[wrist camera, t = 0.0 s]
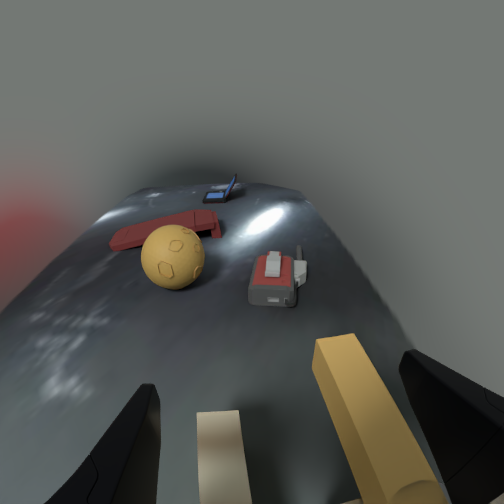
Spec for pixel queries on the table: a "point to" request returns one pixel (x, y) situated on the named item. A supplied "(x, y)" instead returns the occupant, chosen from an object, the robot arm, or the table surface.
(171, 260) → the stress ball
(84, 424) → the table surface
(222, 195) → the handheld game console
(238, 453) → the grey-beige crossed blocks
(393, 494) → the bar
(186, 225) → the dark red long block
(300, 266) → the walkie-talkie
